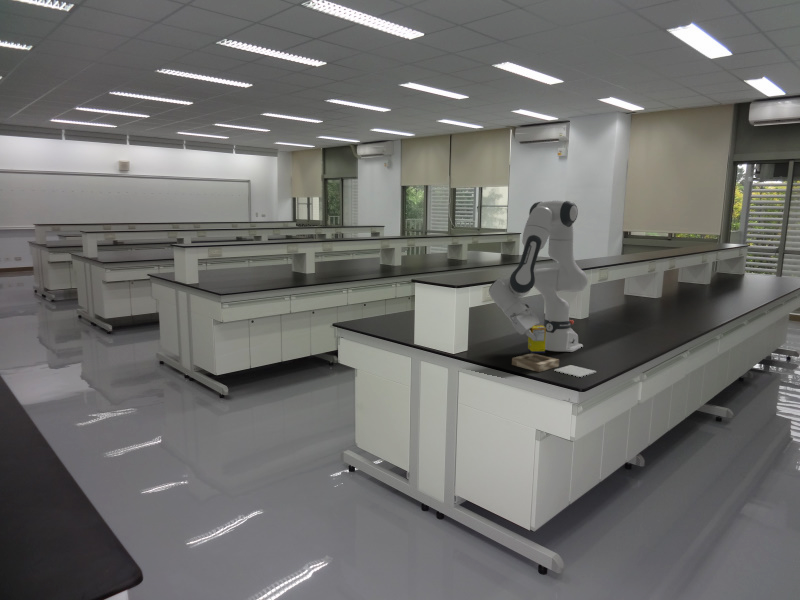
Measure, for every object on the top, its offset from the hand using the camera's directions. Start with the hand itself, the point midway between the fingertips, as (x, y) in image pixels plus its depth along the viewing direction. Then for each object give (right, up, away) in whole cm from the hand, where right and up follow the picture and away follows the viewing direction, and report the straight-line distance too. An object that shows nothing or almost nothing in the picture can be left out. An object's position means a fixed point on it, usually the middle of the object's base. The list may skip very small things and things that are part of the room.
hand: (538, 336), depth 226 cm
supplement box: (-1, -7, +1) cm, 7 cm away
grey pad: (+13, -14, -7) cm, 21 cm away
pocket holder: (-1, -12, +2) cm, 13 cm away
